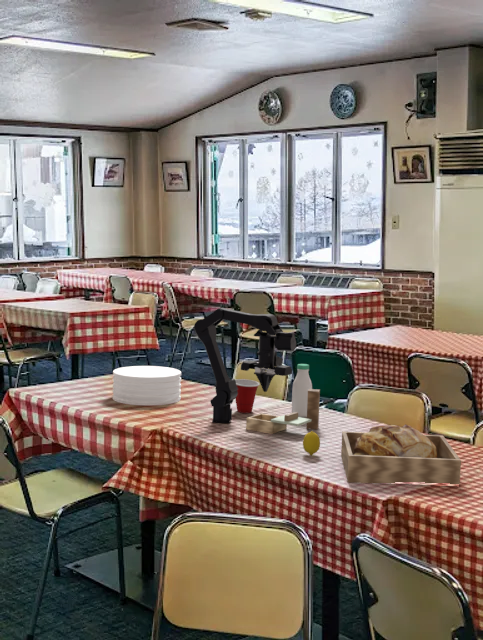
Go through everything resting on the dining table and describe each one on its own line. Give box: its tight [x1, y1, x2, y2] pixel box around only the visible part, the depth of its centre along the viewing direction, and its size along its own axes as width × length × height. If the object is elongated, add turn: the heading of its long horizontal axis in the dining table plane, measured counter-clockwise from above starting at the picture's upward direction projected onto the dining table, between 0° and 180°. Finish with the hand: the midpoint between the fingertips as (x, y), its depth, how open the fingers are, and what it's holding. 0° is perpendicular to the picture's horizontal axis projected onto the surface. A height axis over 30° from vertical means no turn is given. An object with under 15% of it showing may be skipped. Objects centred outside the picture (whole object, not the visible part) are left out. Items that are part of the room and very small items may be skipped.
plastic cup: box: [234, 378, 261, 414], centre depth 362 cm, size 11×11×12 cm
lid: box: [271, 411, 312, 427], centre depth 328 cm, size 11×10×3 cm
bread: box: [354, 424, 437, 458], centre depth 285 cm, size 25×27×15 cm
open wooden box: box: [245, 413, 287, 435], centre depth 334 cm, size 11×10×4 cm
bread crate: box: [340, 430, 462, 485], centre depth 284 cm, size 32×30×8 cm
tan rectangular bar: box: [305, 388, 321, 430], centre depth 337 cm, size 4×4×14 cm
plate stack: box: [112, 365, 182, 406], centre depth 382 cm, size 28×28×12 cm
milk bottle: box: [291, 363, 313, 418], centre depth 358 cm, size 8×8×20 cm
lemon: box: [302, 430, 321, 456], centre depth 299 cm, size 6×6×8 cm
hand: (265, 391), depth 336 cm, fingers closed
